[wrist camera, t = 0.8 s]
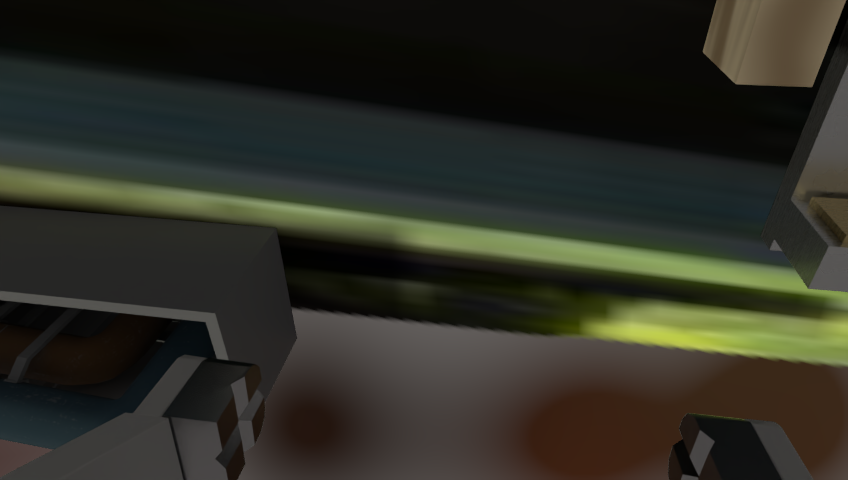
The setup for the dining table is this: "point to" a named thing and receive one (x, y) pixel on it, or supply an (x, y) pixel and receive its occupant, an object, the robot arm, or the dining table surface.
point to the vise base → (818, 187)
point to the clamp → (82, 370)
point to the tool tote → (149, 282)
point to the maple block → (771, 39)
